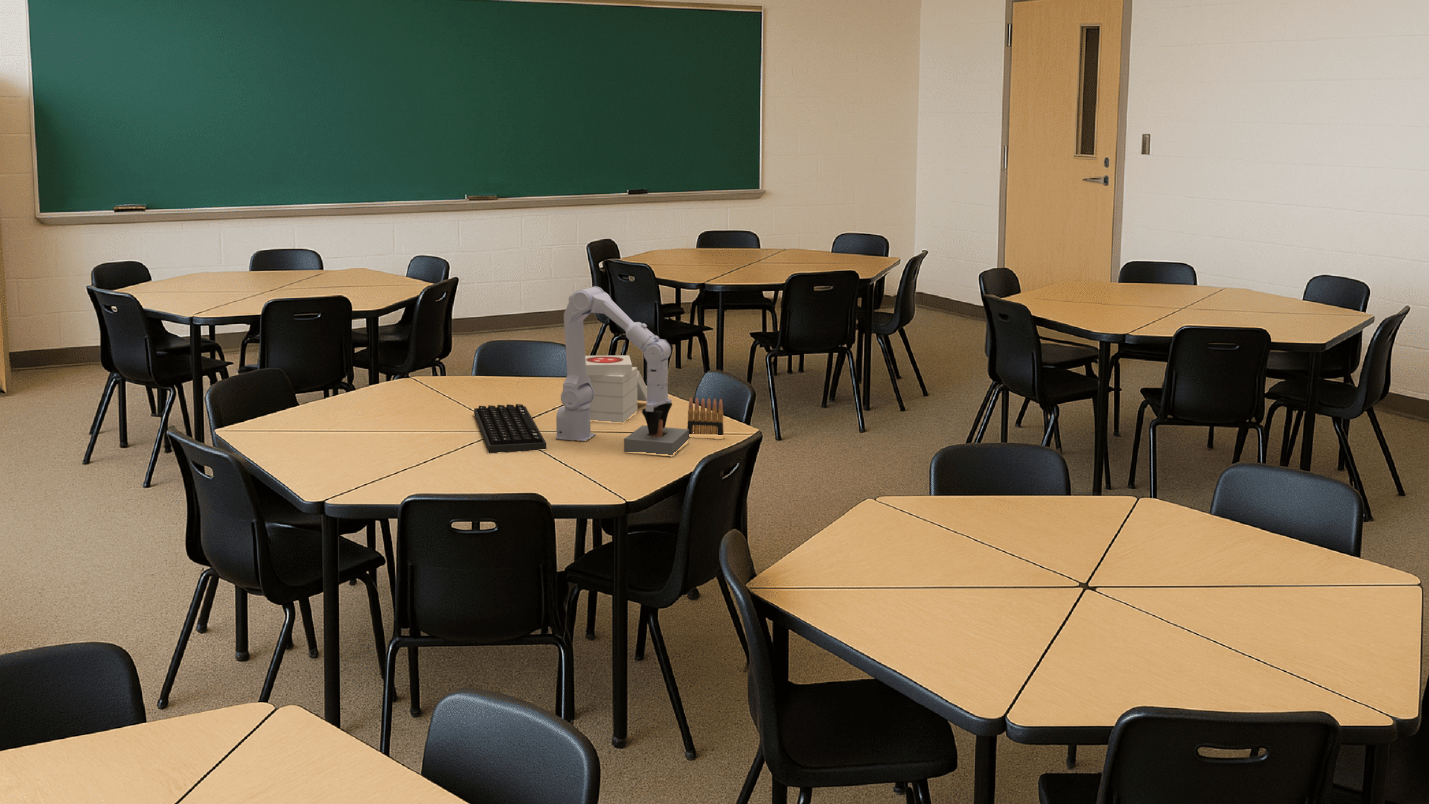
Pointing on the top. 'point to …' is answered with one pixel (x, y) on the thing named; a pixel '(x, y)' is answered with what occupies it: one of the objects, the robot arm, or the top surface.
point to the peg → (659, 429)
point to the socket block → (656, 441)
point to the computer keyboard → (508, 428)
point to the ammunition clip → (705, 417)
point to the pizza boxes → (614, 387)
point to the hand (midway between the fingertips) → (657, 430)
